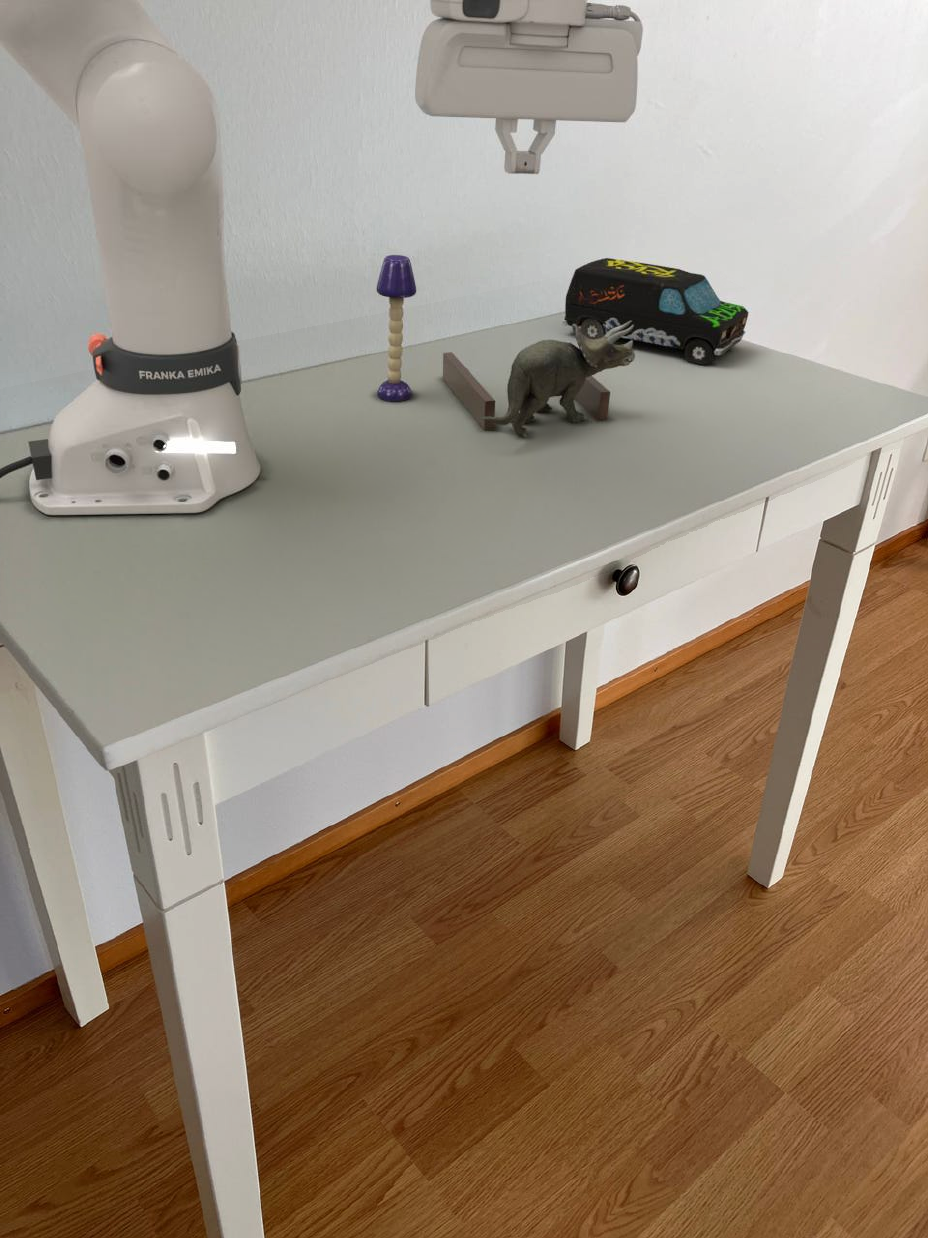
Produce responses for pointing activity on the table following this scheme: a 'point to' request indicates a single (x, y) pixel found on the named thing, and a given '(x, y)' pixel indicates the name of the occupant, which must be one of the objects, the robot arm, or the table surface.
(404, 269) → the toy lamp
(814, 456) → the table surface
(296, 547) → the table surface
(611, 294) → the toy van
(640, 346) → the table surface
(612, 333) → the toy dinosaur
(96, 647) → the table surface
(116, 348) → the robot arm
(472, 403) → the walnut rails
